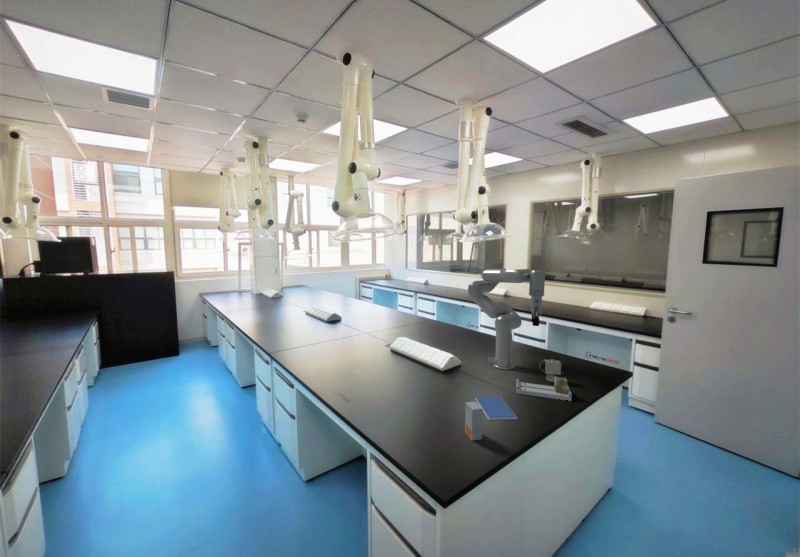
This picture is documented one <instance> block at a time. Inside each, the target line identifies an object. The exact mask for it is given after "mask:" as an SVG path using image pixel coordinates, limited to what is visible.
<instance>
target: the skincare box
mask: <svg viewBox="0 0 800 557" xmlns="http://www.w3.org/2000/svg"><path fill="white" fill-rule="evenodd" d="M464 415H465V418H464V419H465V420H464V421H465V422H464V431H465V434H466V435H467V436H468V437H469V439H470V440H471V441H478V440H482V438H483V410H482V408H481V407H480V405H479V404H478V402H477V401H468V402H465V414H464Z"/></svg>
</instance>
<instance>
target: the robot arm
mask: <svg viewBox="0 0 800 557" xmlns="http://www.w3.org/2000/svg"><path fill="white" fill-rule="evenodd" d="M481 279H482V280H474V281H472V282H470V283H469V284H468V286H467V293H468V296H469V299H471V300H472V301H473V302H474V303H475V304H476V305H477V306H478V307H479V309H480V310H482V311H483V312H484V313H485V314H486V315H487V316H488V317H489V318H491V319H495V320H494V328H495V356H494V357H487V361H488V362H489V363H492V366H493V367H494V368H496V369H499V370H504V371H505V370H507V371H508V370H512V369H513V370H514V368H515V365H514V363H513V361H512V360H513V334H512V332H511V331H512V330H516V329H519V328H520V327H521V326H522V317H521V316H520V315H519V314H518V313H517V312H516V311H515V310H514V309H513V308H512V307H511V306H510V305H509V304H508V303H505V302H495V301H493V299H491V297H489V296H488V295H486V294H488V293H491V292H492V291H493V290H494V289H495V288H496V287H497V286H498V285H499V284H500V283H504V284H505V283H507V284H509V283H510V284H521V283H522V284H524V283H529V289H528V290H529V291H528V296H530V310H531V311H530V312H531V322H532V326H533V327H539V326H540V315H541V316H542V314H543V297H544V296H545V285H546V284H545V282H546V272H545V271H544V270H540V269H537V270H536V269H531V268H519V269H507V268H505V267H504V268H486V269H484V270H483V271H482V272H481Z"/></svg>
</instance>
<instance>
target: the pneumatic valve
mask: <svg viewBox="0 0 800 557" xmlns="http://www.w3.org/2000/svg"><path fill="white" fill-rule="evenodd" d="M539 370H540V371H542V372H543V374H546V375H545V379H546V380H547V382H549V383H554V382H555V377H558V376H557V375H559V376H562V375H563V373H565V371H566V365H565V364H564V363H562V361H561V360H555V359H553V358H551V359H543V358H542V360H541V361H539Z"/></svg>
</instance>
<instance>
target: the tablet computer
mask: <svg viewBox="0 0 800 557" xmlns="http://www.w3.org/2000/svg"><path fill="white" fill-rule="evenodd" d="M475 402H476V403H477V404H478V405H479V406H480V407H481V408H482V413H484V415H485V417H486V418H487V419H488V421H505V420H508V421H509V420H510V421H511V420H512V421H513V420H518V417H517V415H516V414H515V413H514V411H513V410H512V409H511V408H510V407H509V405H508V404H507V403H506V401H505V400H504V399H503V398H502V397H501V396H485V397H484V396H483V397H475Z"/></svg>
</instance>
